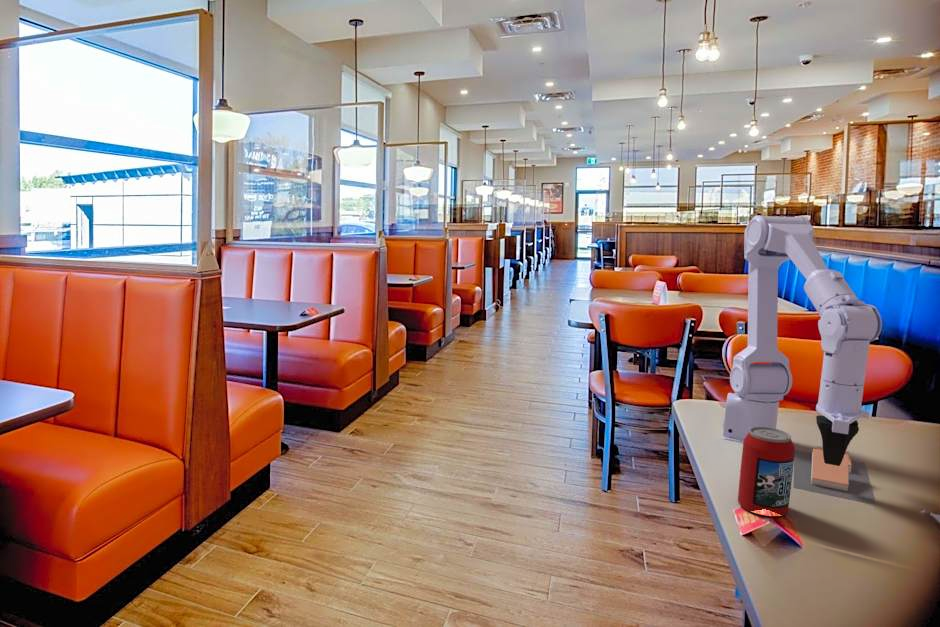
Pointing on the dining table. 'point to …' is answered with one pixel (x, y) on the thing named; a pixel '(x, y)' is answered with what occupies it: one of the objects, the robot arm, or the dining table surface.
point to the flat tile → (848, 459)
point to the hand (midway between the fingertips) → (831, 463)
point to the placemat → (856, 489)
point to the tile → (829, 472)
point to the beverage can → (766, 470)
